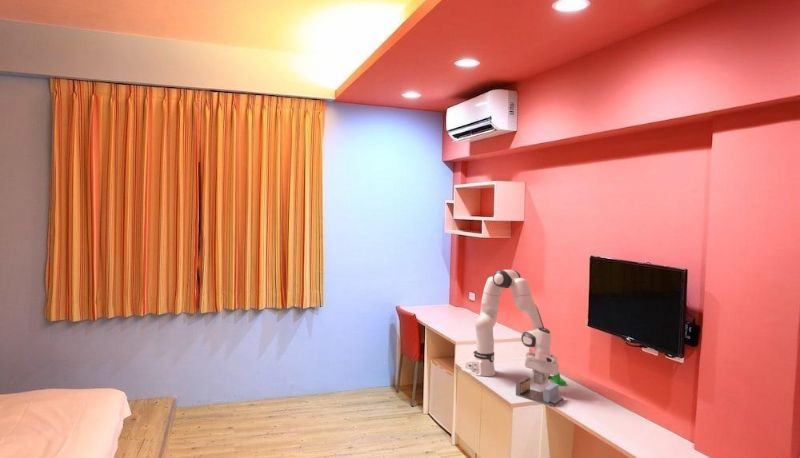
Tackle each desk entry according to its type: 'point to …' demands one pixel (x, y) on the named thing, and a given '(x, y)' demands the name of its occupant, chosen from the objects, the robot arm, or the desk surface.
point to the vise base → (531, 392)
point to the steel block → (539, 378)
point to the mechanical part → (558, 379)
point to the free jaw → (551, 393)
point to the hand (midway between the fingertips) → (540, 378)
